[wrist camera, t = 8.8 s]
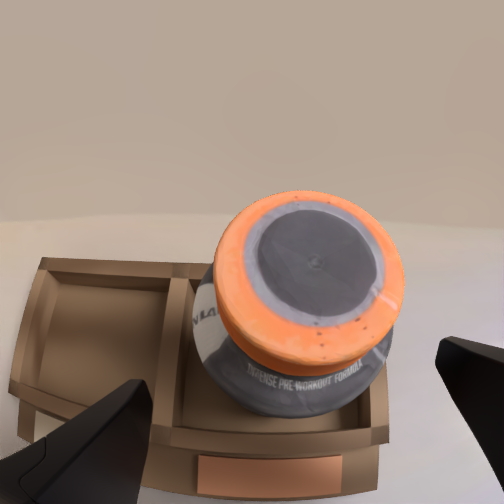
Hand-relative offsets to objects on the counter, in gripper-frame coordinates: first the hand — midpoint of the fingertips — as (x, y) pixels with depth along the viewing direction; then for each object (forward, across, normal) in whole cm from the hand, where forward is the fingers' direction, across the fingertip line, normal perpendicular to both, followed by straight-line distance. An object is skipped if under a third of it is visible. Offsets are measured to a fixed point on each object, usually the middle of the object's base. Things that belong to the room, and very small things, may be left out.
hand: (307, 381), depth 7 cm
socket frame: (+7, +6, +5) cm, 10 cm away
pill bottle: (+7, 0, +4) cm, 8 cm away
